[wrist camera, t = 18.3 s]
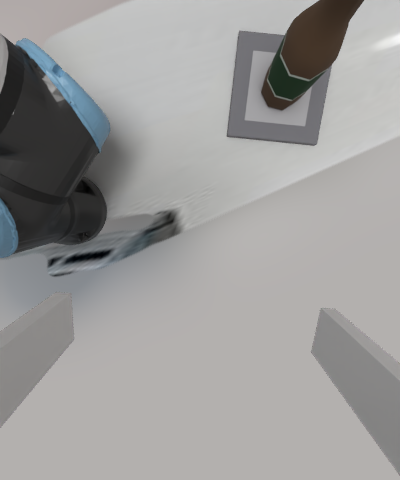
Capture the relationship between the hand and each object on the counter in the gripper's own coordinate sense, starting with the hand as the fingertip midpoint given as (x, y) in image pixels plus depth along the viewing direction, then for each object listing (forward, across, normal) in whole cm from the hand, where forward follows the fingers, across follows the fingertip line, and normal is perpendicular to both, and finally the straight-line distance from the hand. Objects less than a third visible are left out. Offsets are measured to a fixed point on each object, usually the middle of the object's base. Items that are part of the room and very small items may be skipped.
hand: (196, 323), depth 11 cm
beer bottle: (+36, +14, +27) cm, 47 cm away
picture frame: (+36, +14, +27) cm, 48 cm away
